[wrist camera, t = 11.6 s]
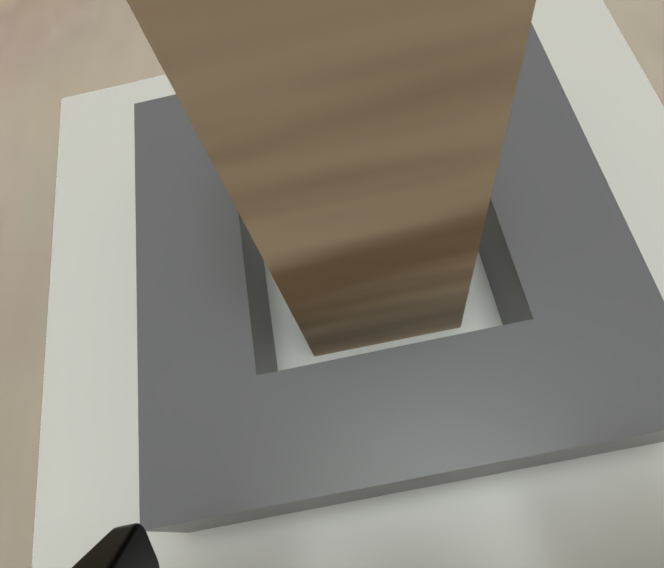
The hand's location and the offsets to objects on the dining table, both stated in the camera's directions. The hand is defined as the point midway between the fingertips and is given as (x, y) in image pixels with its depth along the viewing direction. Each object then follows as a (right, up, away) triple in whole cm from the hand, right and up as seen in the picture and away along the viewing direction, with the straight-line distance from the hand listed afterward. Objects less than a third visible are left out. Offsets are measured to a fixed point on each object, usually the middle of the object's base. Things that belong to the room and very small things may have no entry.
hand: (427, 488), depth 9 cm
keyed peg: (0, +3, +9) cm, 10 cm away
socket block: (0, +3, +10) cm, 11 cm away
